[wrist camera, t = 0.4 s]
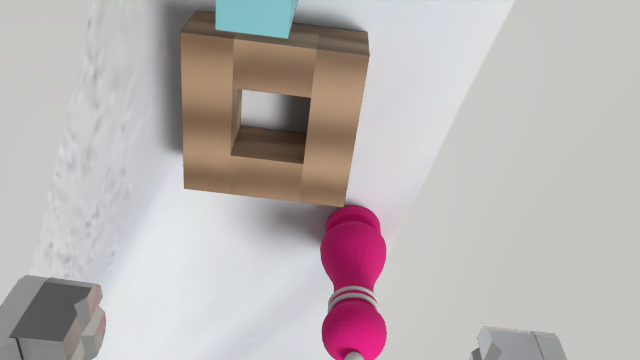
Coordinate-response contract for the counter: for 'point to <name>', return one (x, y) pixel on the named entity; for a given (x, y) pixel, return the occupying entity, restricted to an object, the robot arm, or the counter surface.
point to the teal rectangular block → (256, 16)
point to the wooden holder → (281, 78)
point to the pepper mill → (353, 284)
